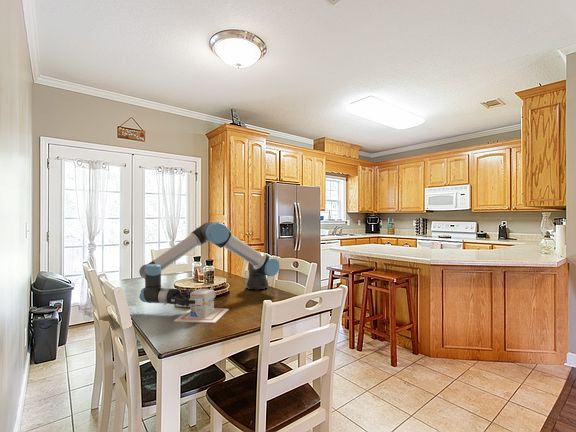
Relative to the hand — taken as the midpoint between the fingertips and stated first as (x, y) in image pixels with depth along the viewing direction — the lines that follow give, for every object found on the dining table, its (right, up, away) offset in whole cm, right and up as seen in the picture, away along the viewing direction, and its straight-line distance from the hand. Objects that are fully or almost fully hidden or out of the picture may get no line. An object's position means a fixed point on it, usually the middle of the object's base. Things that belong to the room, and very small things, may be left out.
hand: (208, 298), depth 149 cm
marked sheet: (-3, -9, +1) cm, 9 cm away
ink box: (-3, -8, +1) cm, 9 cm away
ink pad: (-14, -9, +21) cm, 27 cm away
